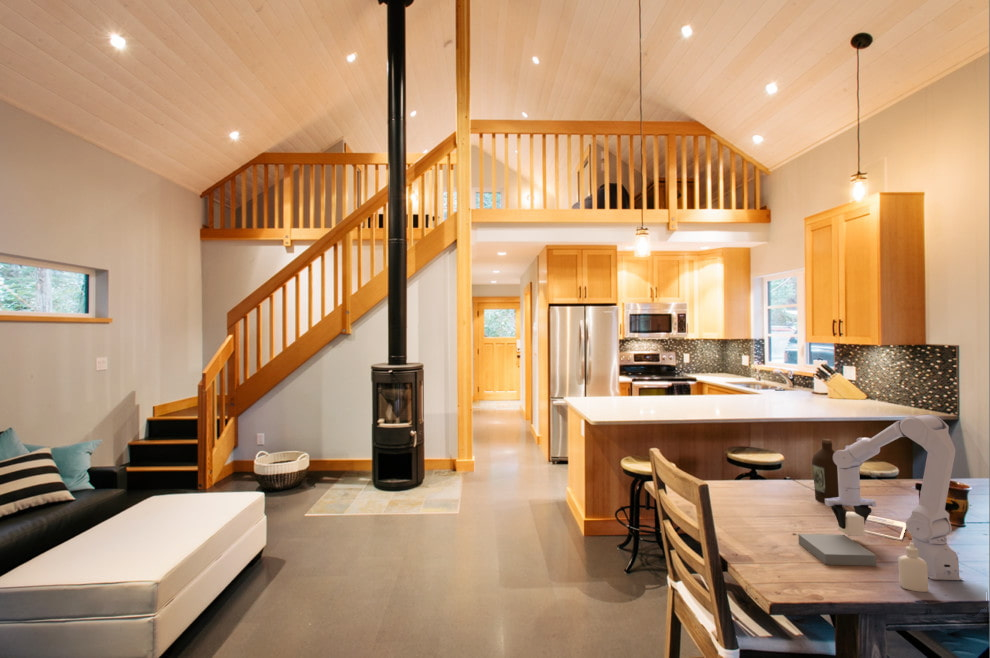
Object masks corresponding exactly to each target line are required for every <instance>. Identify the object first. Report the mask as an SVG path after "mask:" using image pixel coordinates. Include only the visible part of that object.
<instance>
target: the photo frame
mask: <svg viewBox="0 0 990 658" xmlns="http://www.w3.org/2000/svg"><path fill="white" fill-rule="evenodd" d="M866 522H871V523H876V524H880V525H886V526H888V527H889V526H890V527H895V528H900V529H902V530H901V533H900V536H899V537H896V536H892V535H886V534H883V533H879V532H874V531H870V530H867V529H866V530H865V534H869V535H870V534H871V535H875V536H880V537H882V538H883V537H884V538H888V539H893V540H896V541H900V540H901V541H900V542H902V541H903V540H904V536H905V534H906V531H905V530H907V528H906V521H905V522H904V521H899V520H894V519H890V518H885V517H880V516H875V515H871V514H869V516H868V517H867V519H866ZM904 533H905V534H904Z"/></svg>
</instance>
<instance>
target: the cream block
mask: <svg viewBox="0 0 990 658" xmlns="http://www.w3.org/2000/svg"><path fill="white" fill-rule="evenodd" d="M845 524H846V526H845V529H842V528H841V527H839V524H838V523H837V527H838V530H839V532H842V533H843V535H845V536H847V537H865V536H866V533H865V525H864V517H862V516H860V515H858V514H857V513H855V511H847V512H846V517H845Z"/></svg>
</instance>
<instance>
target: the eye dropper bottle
mask: <svg viewBox="0 0 990 658" xmlns="http://www.w3.org/2000/svg"><path fill="white" fill-rule="evenodd" d="M897 562H898V565H897V566H898V583H899V585H900V587H901V588H903V589H905V590H909V591H912V592H913V591H914V592H920V593H926V592H928V591H929V577H928V572H927V563H926V562H925V561H924V560H923V559H921V558H919V557H918V549H917V548H915V547H914V544H913V543H912V542H909V544H908V545H907V546H905V554H904V555H903V554H902V555H899V557H898V560H897Z"/></svg>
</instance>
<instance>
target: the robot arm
mask: <svg viewBox="0 0 990 658" xmlns="http://www.w3.org/2000/svg"><path fill="white" fill-rule="evenodd" d="M949 429H950V426H949V425H948V424H947V423H946V422H945V421H944V420H943V419H942V418H940V417H939V416H937V415H935V414H923V415H916V416H906V417H903V418H902V419H900V420H897V421H895V422H893V424H891V425H889V426H887V427H885V429H883V430H882V431H880V432H878V433H877V434H876V435H874V436H872V437H871V438H870V437H861V436H860V437H858V438H856V439H855V441H856V442H855V441H854V443H852V444H848V445H845V447H844V449H838V450H837V449H836V450H835V451H834V452H835V453H834V454H833V461H834V463H835V464H836V465H837V469H838V488H839V497H836V498H827V499H825V503H824V505H826V506H827V507H830V509H832V512H833V513H834V516H835V518H836V520H837V525H838V524H839V527H841V528H842V529H845V526H846V524H845V517H846V512H848V510H847V509H846V508H844V507H847V506H848V507H849V506H850V507H853V509H854V512H855V513H857V514H858V515H860V516H862V517H864V526H865V525H866V522H867V521H866V519H867V517H868V516H869V515H871V513H872V508H875V507H877V505H876V503H877V502H876V500H875V499H872V498H863V497H861V481H860V471H861V466H862V465H863V464H864V462H866V461H867V460H870V459H871V458H873V457H875V456H876V455H879V453H880V452H881V448H882V447H883V446H886V445H888V444H890V443H892V442H894V441H895V440H898V439H899V438H905V437H906V438H909V439H910V440H911V441H913V442H915V443H916V444H917V445H919V446H921V447H922V448H923V449H924V450H925V451H926V452H927V455H926V461H925V465H924V471H923V478H922V484H921V489H920V493H919V494H920V495H919V500H918V504H917V505H916V506H915V507H914V508H913V509H912V511H911V515H910V517H909V518H907V519H906V520H905V523H906V530H907V531H908V533H909V534H910V535H911V538H912V539H911V540H912V542H911V543H913V544H914V547H915V548H917V549H918V557H919V558H921V559H923V560H924V561H925V562H926V563H927V572H928V579H930V580H939V581H940V580H941V581H942V580H943V581H944V580H946V581H961V580H960V579H963V580H964V578H963V577H961V576H960V565H959V563H960V562H959V556H958V554H957V553H956V551H954V550H953V549H952V548H951V547H950V546H949V544H948V541H947V540H948V539H947V538H948V537H947V536H948V535H950V534H951V533H952V524H951V522H950V513H949V512H948V511H947V510H946V505H947V499H948V494H949V488H950V483H951V478H952V472H953V467H954V463H955V462H954V461H955V456H956V447H955V445H954V443H953V440H952V438H951V435H950V433H949ZM871 507H872V508H871Z"/></svg>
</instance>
